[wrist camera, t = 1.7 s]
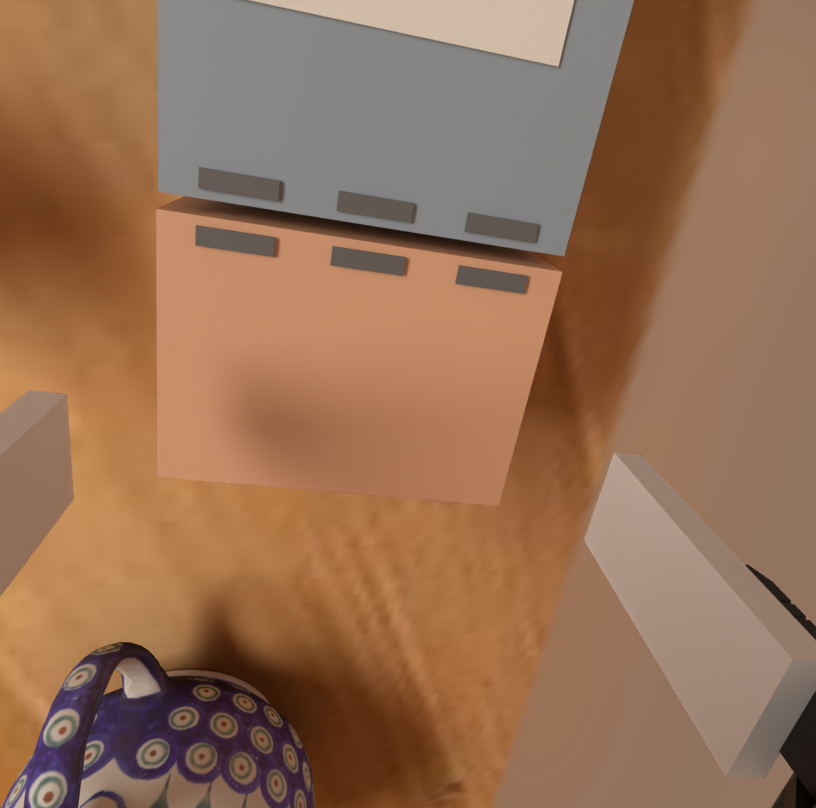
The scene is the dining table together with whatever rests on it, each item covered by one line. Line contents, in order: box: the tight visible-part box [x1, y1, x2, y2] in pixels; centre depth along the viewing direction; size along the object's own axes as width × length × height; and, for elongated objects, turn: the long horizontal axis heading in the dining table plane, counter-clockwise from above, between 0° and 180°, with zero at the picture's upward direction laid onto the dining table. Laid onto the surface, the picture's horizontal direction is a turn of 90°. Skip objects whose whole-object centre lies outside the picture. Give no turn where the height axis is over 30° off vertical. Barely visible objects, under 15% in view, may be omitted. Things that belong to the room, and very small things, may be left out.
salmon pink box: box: [156, 196, 563, 506], centre depth 21 cm, size 8×11×8 cm
